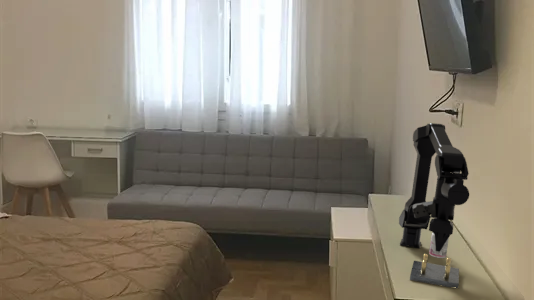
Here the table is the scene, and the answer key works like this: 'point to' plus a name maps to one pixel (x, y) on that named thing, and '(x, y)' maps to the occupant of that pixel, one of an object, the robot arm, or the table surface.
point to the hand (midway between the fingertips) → (438, 248)
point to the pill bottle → (433, 248)
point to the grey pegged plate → (435, 273)
